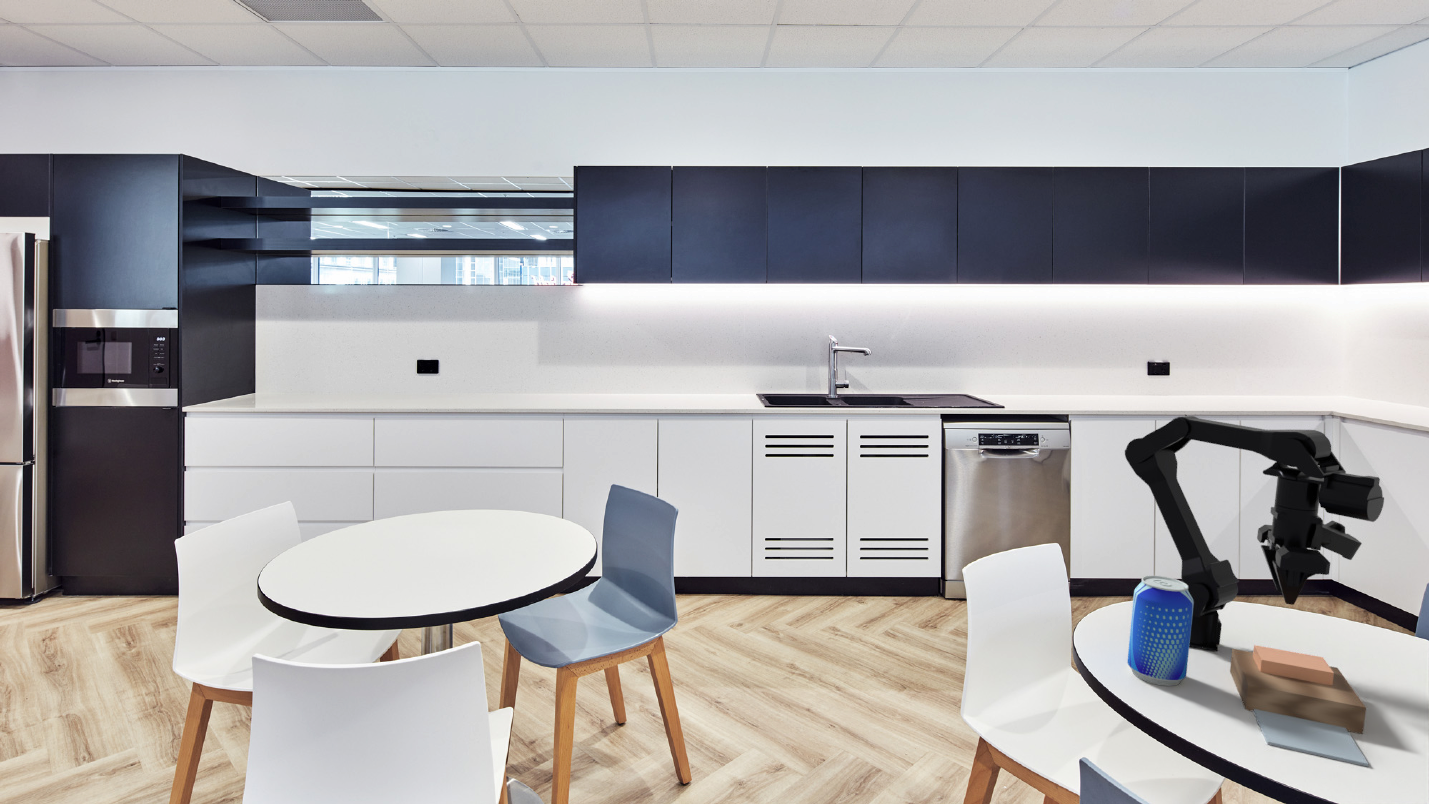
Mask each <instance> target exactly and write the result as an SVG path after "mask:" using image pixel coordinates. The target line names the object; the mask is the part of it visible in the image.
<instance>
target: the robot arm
mask: <svg viewBox="0 0 1429 804" xmlns="http://www.w3.org/2000/svg"><path fill="white" fill-rule="evenodd" d="M1191 441H1198V442H1201V443H1202V442H1203V443H1207V444H1208V443H1209V444H1214V445H1218V446H1223V447H1229V448H1233V449H1240V450H1244V451H1249V452H1254V453H1256V454H1258V455H1261V456H1263V457H1264V458H1266V459H1268V460H1270V461H1274V463H1273V464H1272V465H1271V466H1269V467H1268V468H1266V469H1263V470H1262V474H1263V475H1265V476H1272V477H1277V478H1276V487H1275V489H1276V490H1275V497H1274V504H1273V505H1274V506H1271V507H1270V512H1269V513H1270V514H1271V515H1272V524H1263V525H1262V526H1260V527H1258V529H1257V534H1256V535H1257V537H1256V538H1257V541H1258V542H1259V543H1262V544H1261V545H1260V548H1261V550H1262V553H1263V556H1264V558H1265V561H1266V564H1267V567H1268V569H1269V572H1270V575H1271V578H1272V581H1273V583H1274V586H1275V590H1276V591H1277V592H1278V593H1282V597H1283V600H1284V603H1285V604H1286V605H1290V606H1291V605H1292V606H1294V605H1295V603H1296V601H1297V600H1298V597H1299V595H1300V593H1301V591H1302V590H1303V588H1304V586H1305V583H1306V582H1307V580H1308V579H1309V578H1311V577H1312V576H1315V575H1323V576H1326V575H1330V570H1331V562H1330V560H1328V559H1327V558H1326V557H1325V556H1324V555H1323V554H1322V553H1321V552H1320V551H1321V550H1322V549H1321V548H1324V549H1326V550H1328V551H1330V552H1333V553H1336V554H1338V555H1340V556H1341V557H1342V558H1344V559H1346V560H1350V561H1351V560H1353V558H1354V557H1355V555H1356V553H1357V552H1358V550H1359V548H1360V547H1361V546H1362V542H1361V541H1360V540H1359V539H1357V538H1356V537H1354V536H1352V535H1351V534H1349V533H1346V526H1345V525H1344V524H1342V523H1339V522H1337V521H1335V520H1331V521H1329V522H1326V523H1324V520H1323V519H1322V518H1321V517H1320V516H1319V515H1318V514H1319V508H1322V509H1324V510H1325V512H1326V513H1327V514H1331V515H1336V516H1341V517H1347V518H1351V519H1356V520H1361V521H1366V522H1372V523H1374V522H1376V521H1377V520H1378V519H1379V517H1380V516H1381V513H1382V510H1383V508H1384V503H1385V497H1384V496H1383V495H1384V494H1383V489H1382V487H1381V485H1380V477H1379V476H1378V477H1377V476H1372V475H1358V474H1352V473H1347V471H1346V469H1345V468H1344V467H1343V465H1342V464H1341V463H1340V461H1339V460H1338V459H1337V457H1336V455H1335V454H1334V452H1333V451H1332V444H1331V441H1330V439H1329V438H1328V437H1327V436H1326V434H1325V433H1324V432H1322V431H1319V430H1315V429H1263V428H1260V427H1259V428H1258V427H1252V426H1245V425H1239V424H1234V423H1229V422H1222V421H1216V420H1215V421H1214V420H1211V419H1204V418H1200V417H1196V416H1194V415H1186V416H1184V415H1183V416H1177V417H1174V418H1173V419H1172V420H1170V421H1169V422H1167V423H1166V424H1165V425H1163V426H1161V427H1159V428H1157V429H1155V430H1153V431H1151V432H1149V433H1148V434H1146V435H1145V436H1143V437H1138V438H1134V439H1132V440H1129V442H1128V443H1127V446H1126V448H1125V450H1124V457H1125V459H1126V461H1127V463H1128V464H1129V466H1130V468H1131V469H1132V470H1133V472H1134V474H1135V475H1136V476H1137V477H1139V479H1141V481H1142V482H1144V483H1145V484H1146V485H1147V486H1148V487H1149V489H1150V492H1151V493H1152V495H1153V498H1154V501H1155V503H1156V505H1157V507H1158V509H1159V511H1160V514H1161V516H1162V518H1163V520H1164V523H1165V525H1166V528H1167V529H1168V530H1167V531H1168V532H1169V534H1170V537H1171V538H1172V540H1173V543H1174V546H1175V547H1176V550H1177V552H1178V554H1179V556H1180V559H1181V575H1180V577H1181V581H1182V582H1184V583H1185V584H1187V585H1188V591H1189V593H1190V595H1191V597H1192V598H1193V601H1194V605H1193V615H1192V624H1191V634H1190V644H1189V647H1192V648H1197V649H1202V650H1209V651H1212V652H1217V651H1218V646H1219V645H1220V641H1221V635H1222V634H1221V633H1222V625H1223V623H1222V621H1221V619H1220V618H1219V617H1220V615H1219V612H1218V611H1220V610H1221V611H1222V610H1223V609H1224V608H1225V607H1226V605H1227V604H1228V603H1231V602H1233V601H1234V600H1235V599H1236V598H1237V597H1236V596H1237V595H1238V593H1239V587H1238V584H1237V583H1239V582H1240V580H1239V578H1238V577H1237V576H1236V575H1235V573H1234V571H1233V567H1232V565H1231V563H1230V561H1229V559H1224V560H1219V559H1218V558H1217V557H1216V556H1215V555H1214V554H1213V553H1212V552H1211V551H1210V548H1209V546H1208V544H1207V541H1206V540H1205V537H1204V535H1203V533H1202V531H1201V529H1200V526H1199V524H1198V522H1197V520H1196V518H1195V516H1194V513H1193V512H1192V509H1191V507H1190V504H1189V502H1188V500H1187V498H1186V496H1185V494H1184V491H1183V488H1182V487H1181V485H1180V483H1179V480H1178V460H1177V456H1176V453H1178V451H1181V450H1182V449H1184V448H1185V447H1186V446H1187V445H1188V444H1189V443H1190V442H1191ZM1319 506H1320V507H1319ZM1266 541H1267V542H1266ZM1265 542H1266V544H1265Z"/></svg>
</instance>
